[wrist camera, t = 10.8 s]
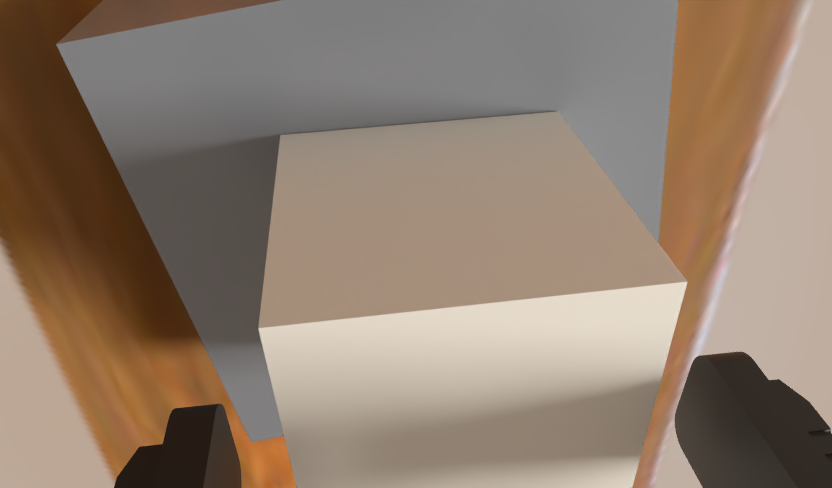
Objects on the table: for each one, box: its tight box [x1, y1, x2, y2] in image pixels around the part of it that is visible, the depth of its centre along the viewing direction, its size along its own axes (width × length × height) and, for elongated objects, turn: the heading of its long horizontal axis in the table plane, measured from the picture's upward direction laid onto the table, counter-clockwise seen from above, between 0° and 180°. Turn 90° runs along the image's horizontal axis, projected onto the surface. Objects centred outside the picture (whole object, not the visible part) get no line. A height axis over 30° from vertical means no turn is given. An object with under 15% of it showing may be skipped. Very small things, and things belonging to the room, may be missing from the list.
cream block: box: [258, 111, 687, 488], centre depth 13 cm, size 6×6×6 cm
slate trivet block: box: [56, 0, 679, 442], centre depth 17 cm, size 12×12×5 cm
